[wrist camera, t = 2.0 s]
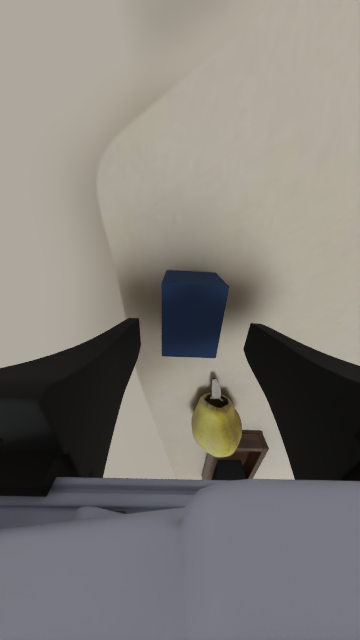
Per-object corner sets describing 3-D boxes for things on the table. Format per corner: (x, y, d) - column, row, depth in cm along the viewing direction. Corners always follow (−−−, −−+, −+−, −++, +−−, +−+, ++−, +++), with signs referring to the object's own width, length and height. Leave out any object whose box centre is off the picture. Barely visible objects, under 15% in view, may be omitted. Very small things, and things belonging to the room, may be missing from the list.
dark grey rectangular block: (211, 475, 31) (215, 510, 27) (215, 459, 29) (221, 495, 25) (234, 476, 31) (242, 510, 27) (241, 460, 29) (250, 495, 25)
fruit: (238, 369, 20) (242, 429, 23) (190, 367, 22) (200, 422, 25) (238, 409, 15) (244, 479, 18) (175, 401, 17) (191, 466, 20)
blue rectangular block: (165, 329, 17) (161, 356, 13) (166, 270, 14) (161, 282, 11) (207, 330, 17) (215, 358, 13) (216, 272, 15) (229, 285, 11)
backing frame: (201, 475, 32) (203, 492, 30) (212, 429, 25) (215, 447, 23) (240, 476, 32) (244, 493, 30) (261, 431, 25) (269, 448, 23)
